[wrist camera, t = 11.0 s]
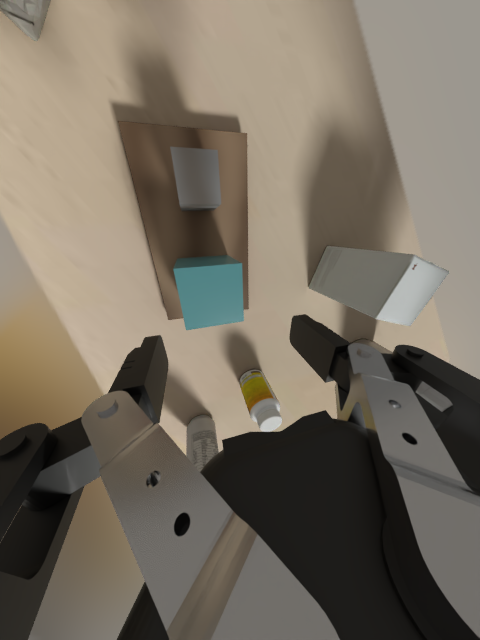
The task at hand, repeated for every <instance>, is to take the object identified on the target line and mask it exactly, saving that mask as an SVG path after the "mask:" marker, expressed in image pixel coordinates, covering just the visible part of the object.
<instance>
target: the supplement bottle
mask: <svg viewBox="0 0 480 640" xmlns="http://www.w3.org/2000/svg"><path fill="white" fill-rule="evenodd" d="M239 383H240V387H241V390H242V393H243V396H244V399H245V402H246V405H247V408H248V411H249V414H250V416H251V419H252V420H253V421H255V422H257V423H258V425H259V428H260V430H261V431H263V432H270V431H273V430H275V429H276V428H278V427H279V426H280V424H281V423H282V418H281V416H280V413H279V410H280V404H279V402H278V400H277V398H276V396H275V394H274V392H273V391H272V389H271V387H270V385H269V383H268V381H267V379H266V377H265V376H264V374H263V373H262V372H261V371H259V370H250V371H247V372H246V373H244V374H243V375H242V377H241V378H240V382H239Z"/></svg>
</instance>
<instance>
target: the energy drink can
mask: <svg viewBox="0 0 480 640" xmlns="http://www.w3.org/2000/svg"><path fill="white" fill-rule="evenodd" d="M218 453H219V451H218V444H217V437H216V429H215V423H214V421H213V420H212V419H211V417H209V416H207V415H200V416H197V417H195V418H193V419H192V420H191V421H190V423H189V425H188V426H187V458H188V459H189V460H190V461H191V462H192V464H193V465H194V466H195V467H196V468H197V469H198V471H199V472H200V471H201V470H202V469H203V467H204V466H205V465H206V464H207V463H208V462H209V461H210V460H211V459H212V458H213V457H214V456H215V455H216V454H218Z"/></svg>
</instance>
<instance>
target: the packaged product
mask: <svg viewBox="0 0 480 640" xmlns="http://www.w3.org/2000/svg"><path fill="white" fill-rule="evenodd" d="M49 5H50V0H0V10H1V11H2V12H3V13H4V14H5V15H6V16H7V17H8V18H9V19H10V20H11V21H12V22H13V23H14V24H15V25H16V26H18V27H19V28H20V29H21V30H22V31H23V32H24V33H25V34H26V35H27V36H29V37H30V38H31V39H33V40H34V41H38V39H39V37H40V33H41V30H42V27H43V24H44V21H45V18H46V14H47V11H48V8H49Z"/></svg>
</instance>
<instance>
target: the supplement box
mask: <svg viewBox="0 0 480 640" xmlns="http://www.w3.org/2000/svg"><path fill="white" fill-rule="evenodd" d="M448 273H449V271H447V270H445V269H443V268H441V267H439V266H437V265H435V264H433V263H431V262H428V261H426V260H424V259H422V258H420V257H418V256H416V255H413V254H404V253H394V252H384V251H375V250H365V249H355V248H345V247H336V246H327V247H326V249H325V251H324V253H323V256H322V258H321V260H320V262H319V265H318V267H317V269H316V271H315V274H314V276H313V278H312V280H311V283H310V285H309V288H310V289H312V290H314V291H316V292H318V293H320V294H323V295H325V296H327V297H329V298H331V299H333V300H336V301H338V302H340V303H342V304H345V305H347V306H349V307H351V308H353V309H355V310H358V311H360V312H362V313H364V314H366V315H368V316H371V317H373V318H375V319H378V320H382V321H387V322H392V323H396V324H401V325H407V326H411V324H412V323H413V322H414V320H415V319H416V318H417V316H418V315H419V314H420V312H421V311H422V309H423V308H424V307H425V305H426V304H427V303H428V301H429V300H430V299H431V297H432V296H433V294H434V293H435V292H436V290H437V288H438V287H439V286H440V284H441V283H442V282H443V280H444V279H445V277H446V276H447V275H448Z"/></svg>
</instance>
